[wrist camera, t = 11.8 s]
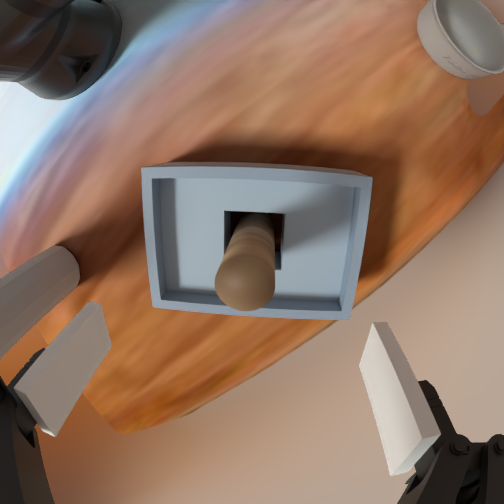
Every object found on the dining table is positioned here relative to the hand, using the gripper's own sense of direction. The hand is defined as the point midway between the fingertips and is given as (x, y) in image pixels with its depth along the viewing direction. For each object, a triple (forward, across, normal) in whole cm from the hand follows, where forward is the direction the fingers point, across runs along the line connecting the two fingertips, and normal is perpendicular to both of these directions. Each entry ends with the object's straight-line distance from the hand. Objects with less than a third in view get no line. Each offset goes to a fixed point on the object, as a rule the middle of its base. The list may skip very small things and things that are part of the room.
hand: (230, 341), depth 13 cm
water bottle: (+21, -28, -8) cm, 36 cm away
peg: (+20, 0, -1) cm, 20 cm away
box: (+20, 0, -1) cm, 20 cm away
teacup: (+21, +24, +25) cm, 41 cm away
